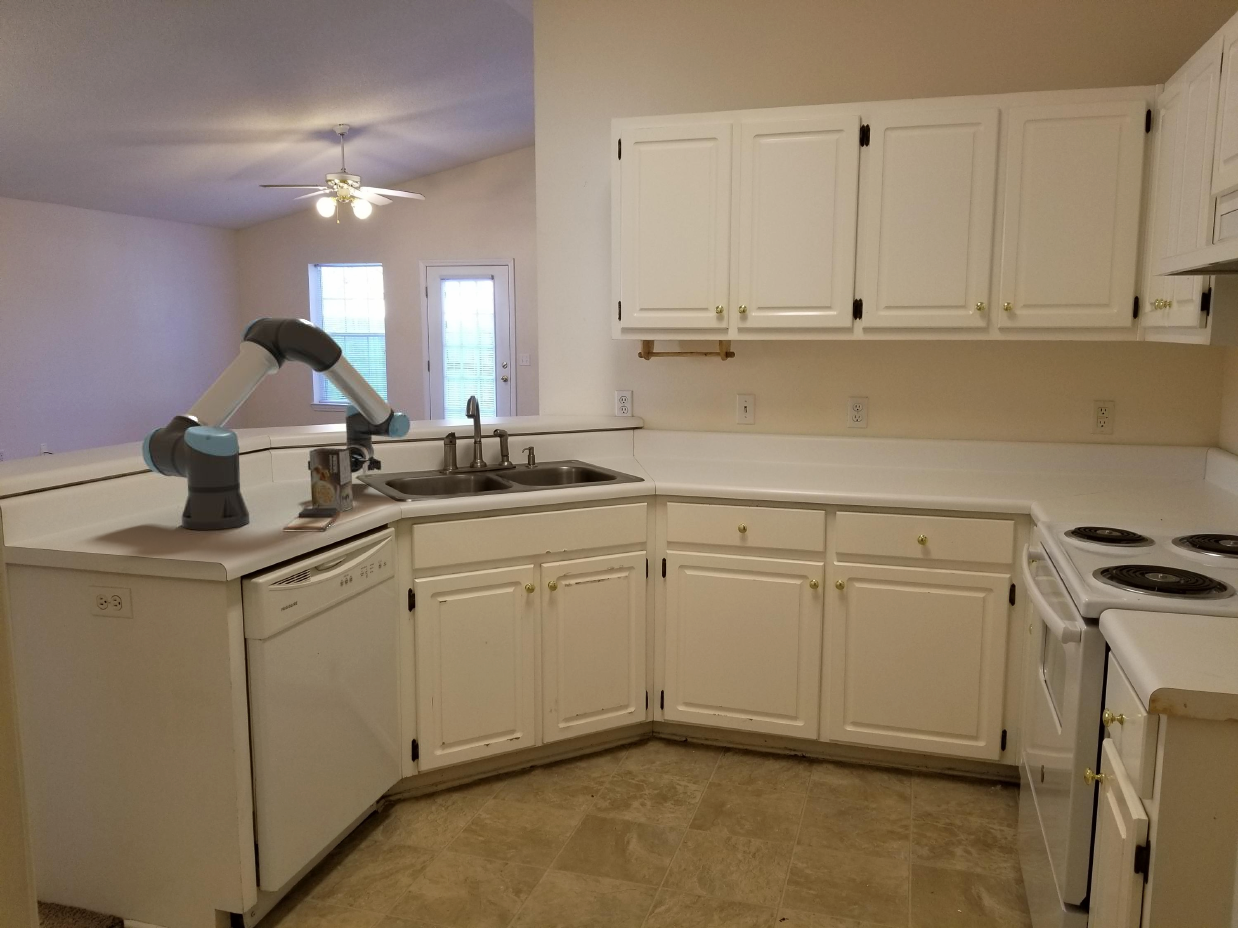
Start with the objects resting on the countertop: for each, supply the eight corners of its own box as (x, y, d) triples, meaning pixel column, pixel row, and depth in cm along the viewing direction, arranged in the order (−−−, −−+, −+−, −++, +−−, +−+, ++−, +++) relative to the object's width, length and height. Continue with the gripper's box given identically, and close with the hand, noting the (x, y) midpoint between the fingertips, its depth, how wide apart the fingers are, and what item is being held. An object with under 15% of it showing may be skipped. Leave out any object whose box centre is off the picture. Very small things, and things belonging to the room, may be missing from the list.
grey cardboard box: (354, 507, 242) (352, 448, 240) (342, 512, 236) (340, 451, 234) (323, 505, 244) (321, 447, 242) (310, 510, 238) (308, 450, 235)
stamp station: (283, 531, 213) (282, 523, 213) (302, 515, 231) (302, 507, 231) (324, 531, 214) (324, 522, 214) (340, 515, 232) (340, 507, 232)
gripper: (396, 470, 271) (385, 482, 250) (311, 471, 268) (293, 483, 247) (395, 446, 270) (384, 456, 249) (310, 446, 267) (291, 456, 246)
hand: (339, 469), depth 248 cm, fingers open, 13 cm apart
